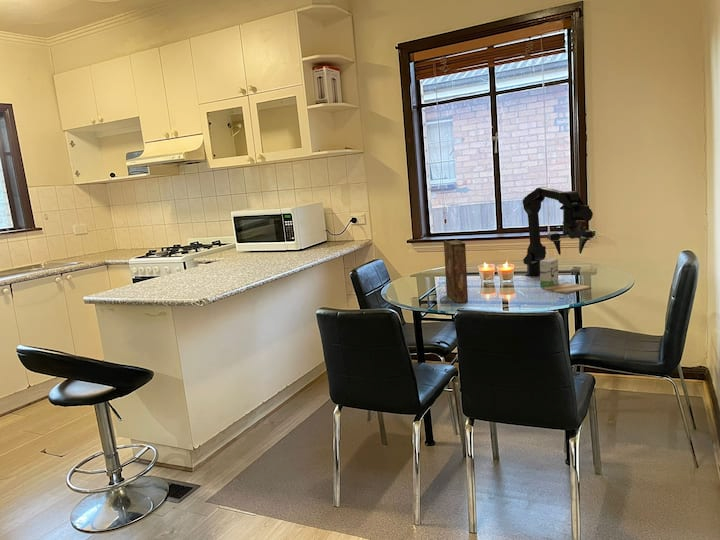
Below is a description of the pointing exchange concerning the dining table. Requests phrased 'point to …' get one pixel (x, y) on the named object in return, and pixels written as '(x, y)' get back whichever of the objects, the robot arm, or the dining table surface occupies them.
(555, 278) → the ink box
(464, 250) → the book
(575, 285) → the cork trivet
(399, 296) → the dining table surface
